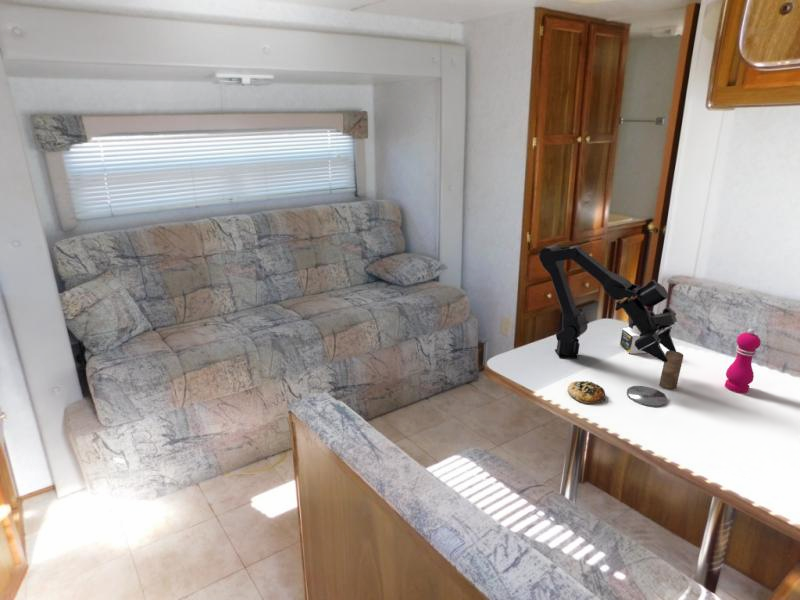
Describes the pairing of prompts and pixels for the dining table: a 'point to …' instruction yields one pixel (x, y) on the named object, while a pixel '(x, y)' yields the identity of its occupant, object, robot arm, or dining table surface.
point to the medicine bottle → (630, 339)
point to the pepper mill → (742, 363)
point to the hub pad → (646, 396)
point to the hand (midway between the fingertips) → (670, 356)
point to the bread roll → (586, 392)
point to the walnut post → (671, 370)
